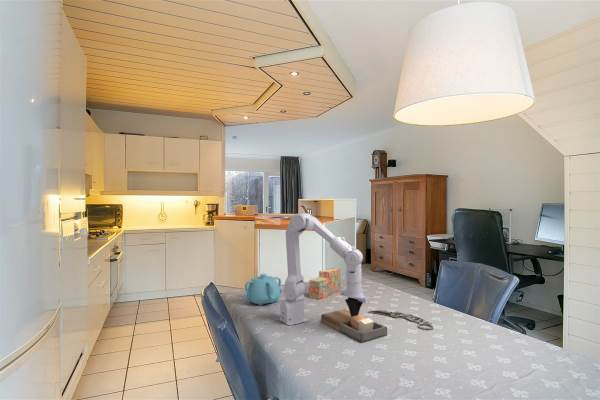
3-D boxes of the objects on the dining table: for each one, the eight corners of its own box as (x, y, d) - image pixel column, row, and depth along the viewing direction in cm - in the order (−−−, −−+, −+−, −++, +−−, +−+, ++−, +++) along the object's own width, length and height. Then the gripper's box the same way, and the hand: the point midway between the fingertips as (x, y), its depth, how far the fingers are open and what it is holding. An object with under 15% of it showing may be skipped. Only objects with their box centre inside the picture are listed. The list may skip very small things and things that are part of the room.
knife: (366, 310, 143) (381, 305, 149) (367, 314, 143) (381, 308, 149) (426, 330, 121) (441, 322, 127) (427, 334, 121) (441, 326, 127)
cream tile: (358, 331, 120) (362, 335, 117) (359, 320, 119) (364, 323, 117) (367, 328, 122) (372, 332, 120) (368, 317, 121) (373, 321, 119)
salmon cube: (358, 329, 119) (359, 323, 119) (350, 323, 123) (351, 316, 123) (367, 327, 122) (368, 320, 121) (359, 320, 125) (360, 314, 125)
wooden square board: (339, 331, 123) (339, 323, 123) (321, 321, 133) (321, 314, 133) (364, 325, 129) (364, 317, 129) (344, 316, 139) (344, 309, 139)
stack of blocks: (319, 300, 163) (319, 275, 164) (309, 298, 167) (308, 274, 167) (340, 291, 181) (340, 268, 181) (330, 289, 184) (330, 267, 185)
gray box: (361, 343, 112) (361, 334, 112) (340, 331, 123) (339, 323, 123) (387, 335, 118) (387, 327, 118) (364, 325, 129) (364, 317, 129)
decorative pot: (257, 296, 172) (256, 270, 172) (285, 298, 166) (284, 271, 166) (240, 305, 157) (240, 276, 157) (271, 308, 151) (270, 278, 151)
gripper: (375, 284, 121) (376, 321, 120) (350, 277, 133) (350, 311, 133) (360, 287, 117) (361, 325, 117) (336, 279, 129) (336, 314, 129)
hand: (354, 318), depth 125 cm, fingers closed
